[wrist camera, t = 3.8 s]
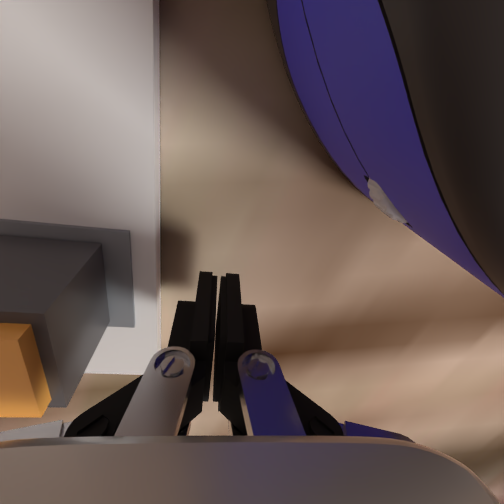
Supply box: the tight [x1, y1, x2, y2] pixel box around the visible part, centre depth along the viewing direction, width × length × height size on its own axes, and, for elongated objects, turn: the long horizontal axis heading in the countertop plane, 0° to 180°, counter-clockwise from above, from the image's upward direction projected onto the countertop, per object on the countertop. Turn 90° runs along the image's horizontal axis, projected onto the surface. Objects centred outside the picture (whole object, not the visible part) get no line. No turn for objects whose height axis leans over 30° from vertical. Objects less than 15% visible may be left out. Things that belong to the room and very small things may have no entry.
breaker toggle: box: [0, 235, 110, 417], centre depth 10 cm, size 4×4×5 cm
